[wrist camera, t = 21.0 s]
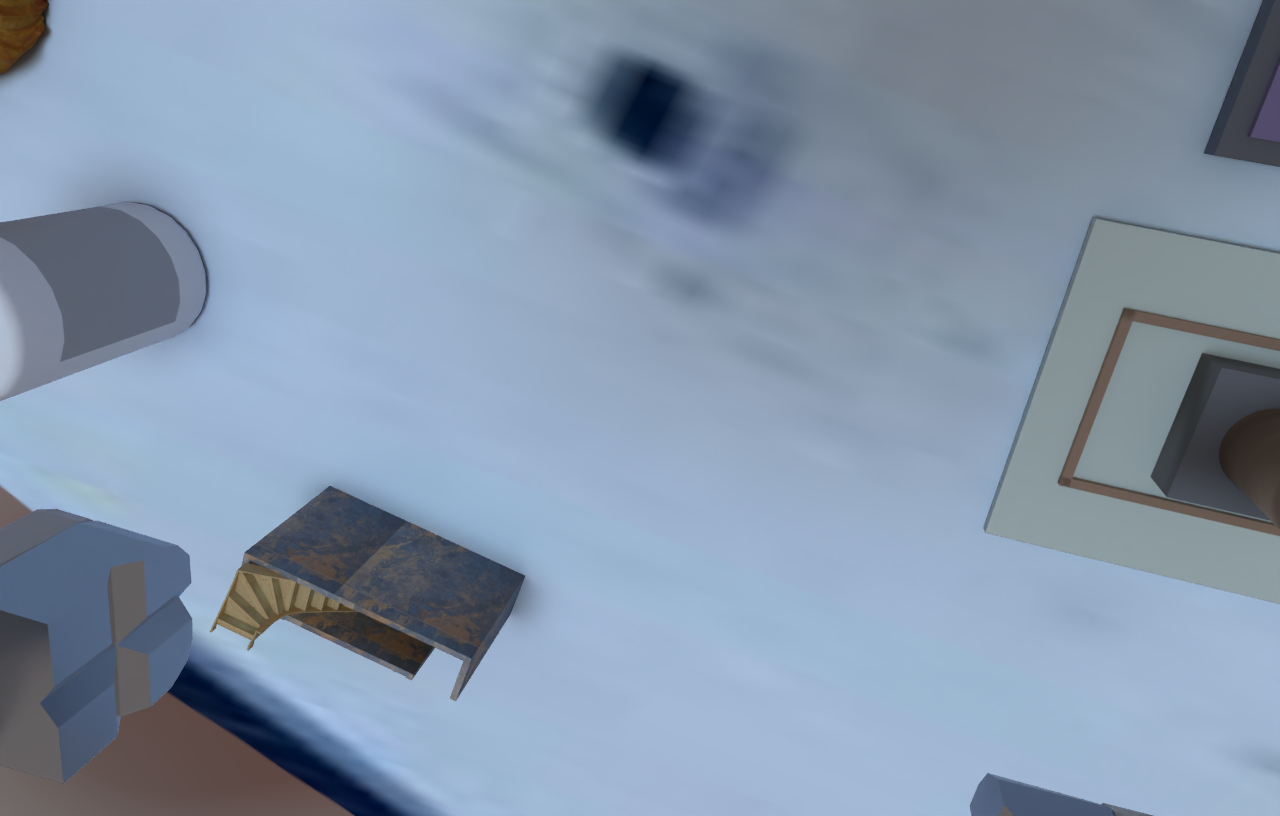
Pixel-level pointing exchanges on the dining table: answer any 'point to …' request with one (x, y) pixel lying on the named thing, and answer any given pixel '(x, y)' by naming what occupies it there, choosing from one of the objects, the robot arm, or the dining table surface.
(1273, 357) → the print card
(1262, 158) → the ink pad
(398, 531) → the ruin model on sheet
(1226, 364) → the stamp
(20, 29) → the croissant
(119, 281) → the spray bottle
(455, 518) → the dining table surface
